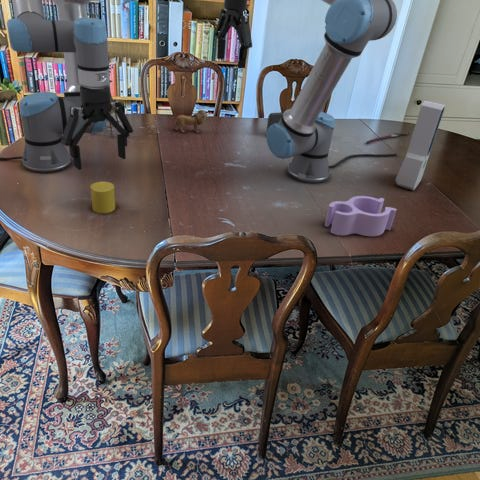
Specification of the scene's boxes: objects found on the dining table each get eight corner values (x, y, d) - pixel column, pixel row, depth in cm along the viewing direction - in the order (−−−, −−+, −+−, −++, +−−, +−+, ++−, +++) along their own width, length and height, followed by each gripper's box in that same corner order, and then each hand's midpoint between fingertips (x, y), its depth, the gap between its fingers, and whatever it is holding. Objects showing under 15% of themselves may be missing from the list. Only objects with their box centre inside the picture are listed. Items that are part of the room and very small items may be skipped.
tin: (120, 207, 140) (118, 185, 136) (104, 215, 135) (102, 193, 131) (103, 200, 142) (102, 179, 138) (87, 208, 137) (85, 187, 133)
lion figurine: (203, 128, 203) (204, 107, 198) (207, 132, 199) (208, 111, 194) (170, 129, 198) (170, 108, 193) (173, 133, 194) (173, 112, 189)
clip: (337, 240, 135) (342, 219, 131) (318, 218, 145) (322, 198, 141) (395, 233, 141) (402, 213, 137) (373, 213, 151) (378, 194, 147)
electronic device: (413, 191, 168) (440, 109, 151) (393, 185, 171) (417, 104, 154) (421, 180, 177) (448, 101, 161) (402, 174, 180) (426, 96, 164)
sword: (404, 132, 223) (404, 129, 222) (409, 134, 221) (409, 132, 220) (360, 143, 207) (361, 141, 206) (365, 146, 205) (366, 143, 204)
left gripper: (54, 95, 109) (64, 177, 121) (144, 83, 125) (145, 157, 136) (40, 87, 114) (51, 167, 125) (128, 76, 129) (131, 149, 140)
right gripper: (207, -10, 160) (203, 55, 171) (248, 1, 143) (241, 72, 155) (225, -9, 163) (221, 54, 175) (267, 2, 147) (259, 71, 158)
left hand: (100, 162), depth 130 cm, fingers open, 13 cm apart
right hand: (230, 63), depth 165 cm, fingers open, 13 cm apart
